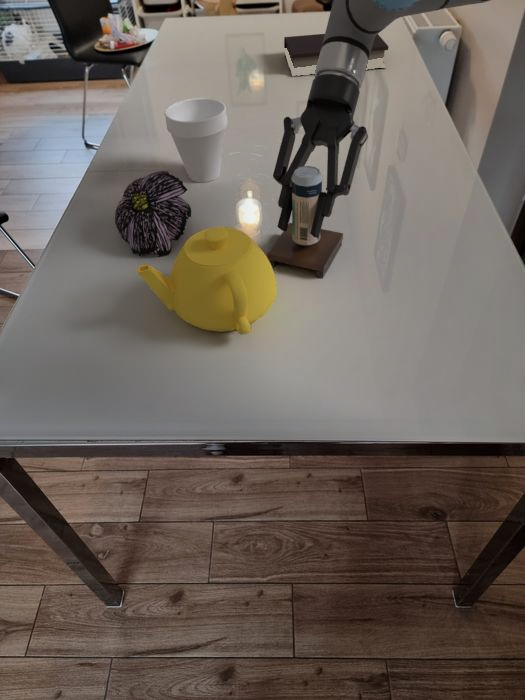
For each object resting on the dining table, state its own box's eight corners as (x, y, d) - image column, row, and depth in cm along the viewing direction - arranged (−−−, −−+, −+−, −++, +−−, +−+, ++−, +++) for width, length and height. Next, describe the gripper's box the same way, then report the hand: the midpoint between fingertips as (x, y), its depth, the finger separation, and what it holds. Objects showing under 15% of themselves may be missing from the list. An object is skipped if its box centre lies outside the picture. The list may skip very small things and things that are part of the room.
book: (370, 48, 161) (372, 27, 157) (385, 68, 148) (388, 46, 143) (284, 56, 160) (284, 35, 156) (292, 76, 147) (292, 54, 143)
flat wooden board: (342, 245, 88) (343, 233, 86) (323, 278, 82) (324, 266, 80) (289, 234, 91) (289, 222, 89) (267, 265, 85) (267, 253, 83)
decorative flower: (81, 200, 84) (142, 144, 87) (103, 238, 95) (157, 187, 98) (143, 247, 80) (204, 186, 84) (159, 281, 91) (212, 226, 95)
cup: (165, 175, 109) (152, 110, 99) (210, 156, 114) (201, 92, 104) (198, 195, 102) (187, 127, 92) (244, 173, 107) (238, 108, 98)
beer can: (326, 241, 83) (329, 173, 75) (302, 251, 82) (303, 183, 73) (309, 228, 86) (310, 161, 77) (286, 237, 85) (285, 170, 76)
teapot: (256, 260, 86) (251, 192, 77) (299, 330, 73) (300, 260, 64) (142, 290, 82) (122, 222, 73) (167, 370, 69) (147, 300, 60)
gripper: (396, 102, 78) (356, 248, 80) (289, 90, 83) (254, 227, 85) (392, 77, 71) (348, 238, 73) (276, 66, 76) (238, 216, 78)
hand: (298, 232), depth 79 cm, fingers closed on beer can, 5 cm apart
